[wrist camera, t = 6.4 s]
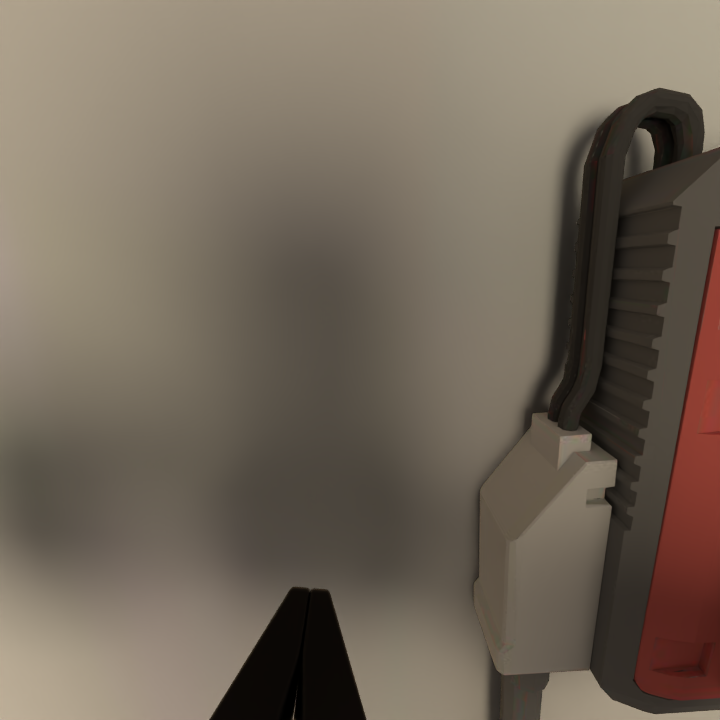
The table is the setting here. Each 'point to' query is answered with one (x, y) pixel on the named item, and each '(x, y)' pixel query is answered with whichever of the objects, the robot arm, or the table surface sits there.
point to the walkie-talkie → (621, 445)
